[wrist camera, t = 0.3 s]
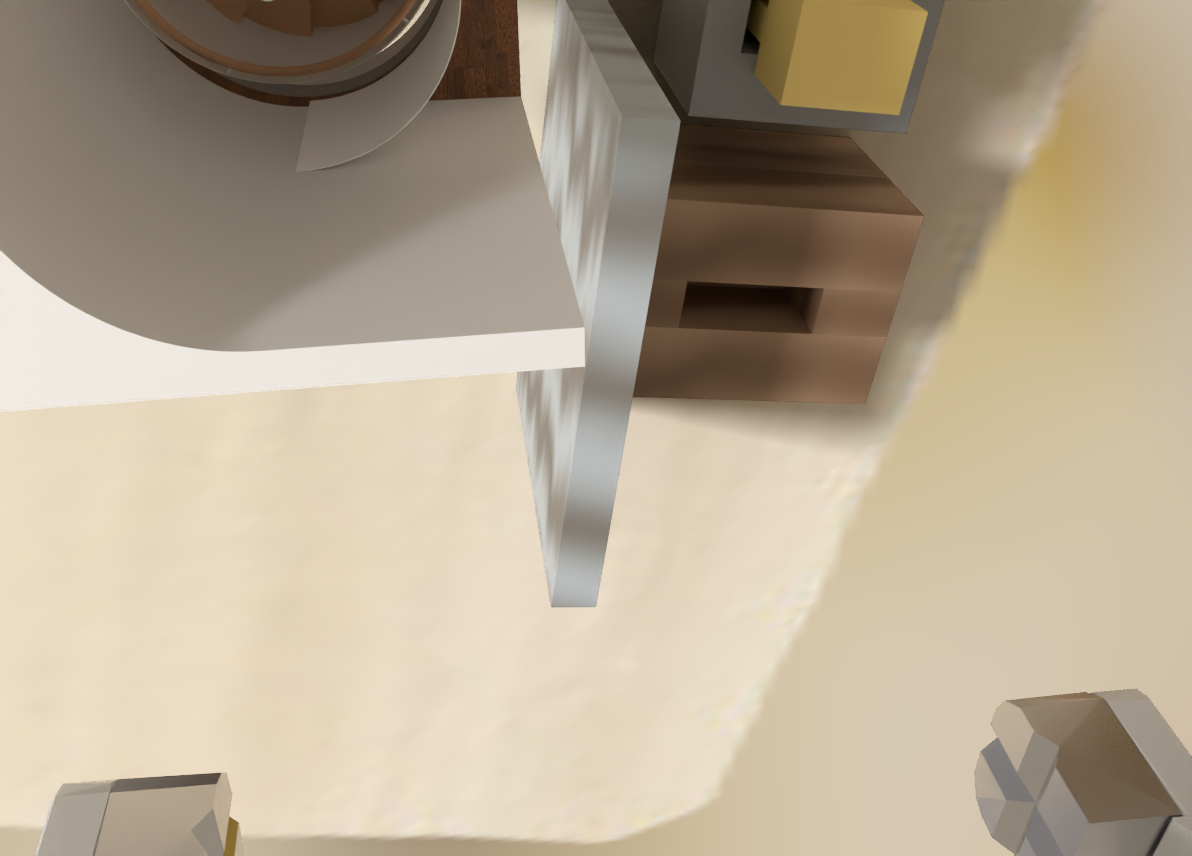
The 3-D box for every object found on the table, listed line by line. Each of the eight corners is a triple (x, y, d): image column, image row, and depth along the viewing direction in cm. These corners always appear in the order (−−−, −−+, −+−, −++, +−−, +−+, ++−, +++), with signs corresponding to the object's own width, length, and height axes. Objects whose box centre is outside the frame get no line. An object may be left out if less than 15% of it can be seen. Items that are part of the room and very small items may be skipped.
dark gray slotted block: (681, -121, 49) (724, -87, 43) (890, -95, 51) (961, -59, 45) (653, 60, 54) (688, 115, 47) (846, 78, 56) (905, 133, 49)
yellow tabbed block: (749, -48, 48) (804, -1, 41) (857, -36, 49) (928, 12, 42) (730, 47, 50) (780, 104, 43) (835, 56, 51) (898, 115, 44)
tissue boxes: (558, -15, 51) (622, 116, 37) (881, 18, 54) (1059, 151, 40) (516, 388, 63) (551, 607, 49) (782, 396, 66) (890, 605, 52)
